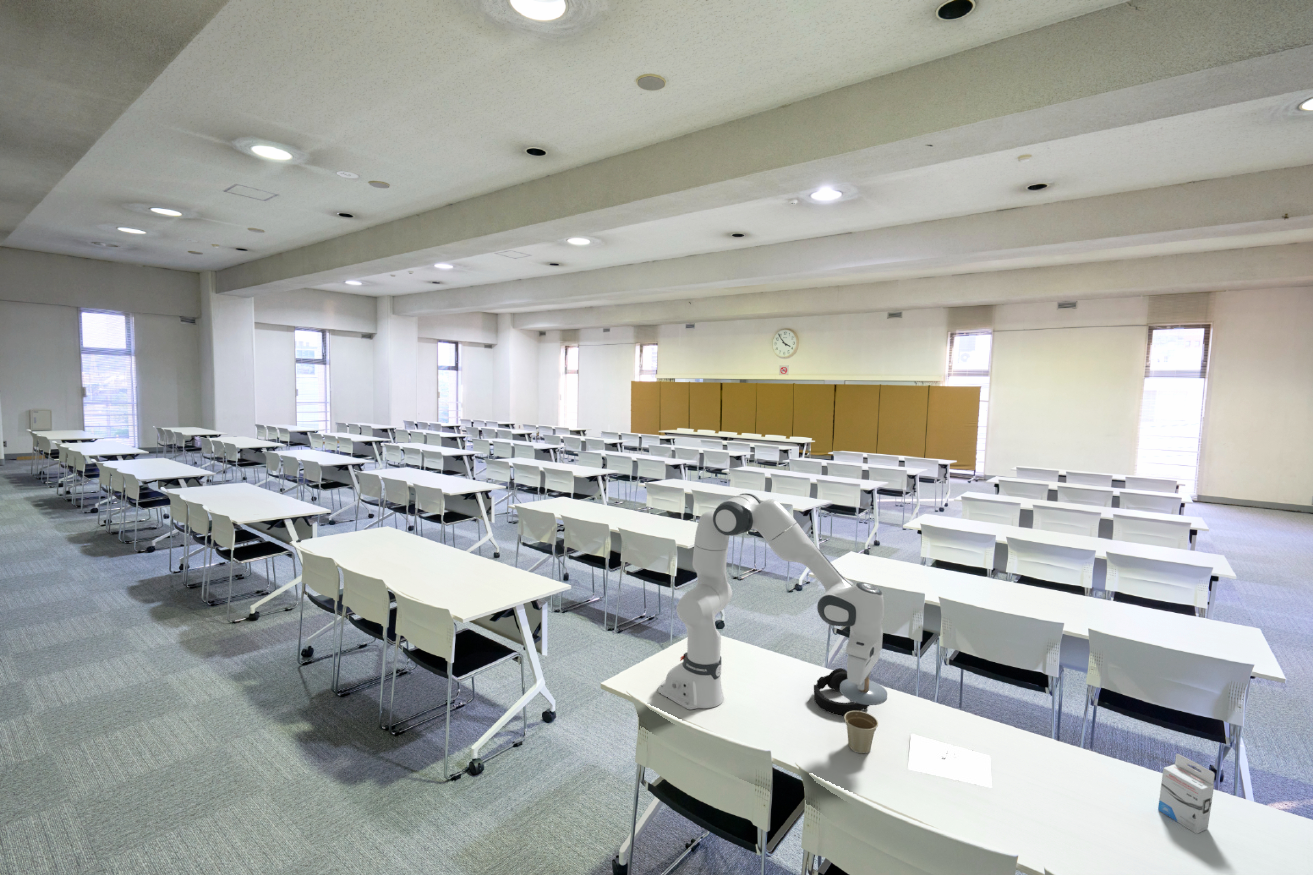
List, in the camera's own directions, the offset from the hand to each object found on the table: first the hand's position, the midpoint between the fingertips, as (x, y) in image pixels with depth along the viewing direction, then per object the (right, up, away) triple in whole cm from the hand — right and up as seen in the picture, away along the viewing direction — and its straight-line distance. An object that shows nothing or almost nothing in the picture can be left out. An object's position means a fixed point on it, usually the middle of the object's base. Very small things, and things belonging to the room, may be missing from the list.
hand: (863, 685), depth 173 cm
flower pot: (0, -19, +2) cm, 19 cm away
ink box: (+71, -24, -24) cm, 79 cm away
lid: (0, -2, 0) cm, 2 cm away
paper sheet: (+20, -21, -8) cm, 31 cm away
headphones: (+2, -17, +27) cm, 32 cm away
